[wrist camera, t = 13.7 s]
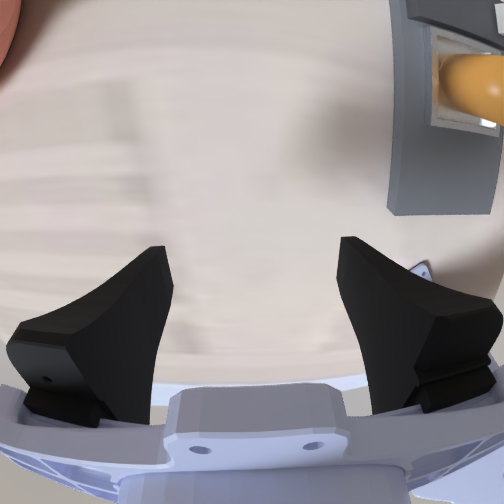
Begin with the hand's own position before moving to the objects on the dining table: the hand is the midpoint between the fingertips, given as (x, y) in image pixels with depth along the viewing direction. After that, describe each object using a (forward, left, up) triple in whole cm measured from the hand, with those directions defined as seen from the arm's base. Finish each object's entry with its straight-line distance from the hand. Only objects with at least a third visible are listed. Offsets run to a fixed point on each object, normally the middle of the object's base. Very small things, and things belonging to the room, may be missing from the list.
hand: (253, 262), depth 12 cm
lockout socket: (-2, -17, -8) cm, 19 cm away
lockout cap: (-2, -17, -8) cm, 19 cm away
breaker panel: (-2, -17, -9) cm, 19 cm away
